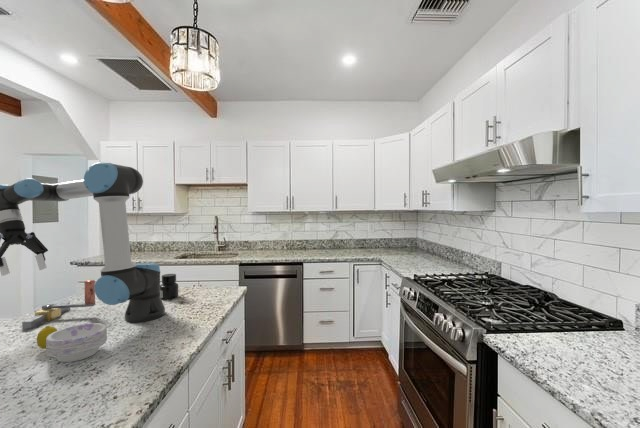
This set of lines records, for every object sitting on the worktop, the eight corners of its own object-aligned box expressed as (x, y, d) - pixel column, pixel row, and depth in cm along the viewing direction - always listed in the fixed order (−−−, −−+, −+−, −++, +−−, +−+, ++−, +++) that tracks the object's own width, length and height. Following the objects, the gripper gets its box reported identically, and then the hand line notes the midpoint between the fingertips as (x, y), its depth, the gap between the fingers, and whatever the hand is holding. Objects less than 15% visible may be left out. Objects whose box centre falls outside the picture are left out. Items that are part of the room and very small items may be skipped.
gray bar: (73, 308, 142) (73, 299, 142) (35, 328, 118) (35, 318, 118) (58, 309, 141) (58, 300, 141) (17, 329, 117) (17, 319, 117)
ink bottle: (164, 295, 163) (163, 273, 163) (181, 294, 164) (180, 272, 164) (156, 300, 154) (156, 277, 153) (174, 300, 155) (174, 277, 154)
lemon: (33, 351, 99) (32, 327, 99) (53, 344, 105) (52, 321, 104) (42, 355, 97) (42, 330, 97) (62, 347, 102) (62, 324, 102)
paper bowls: (97, 340, 108) (96, 318, 108) (114, 352, 99) (114, 328, 99) (40, 357, 96) (39, 333, 95) (54, 373, 87) (53, 345, 86)
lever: (97, 304, 135) (96, 279, 135) (92, 307, 131) (91, 281, 131) (46, 307, 131) (45, 281, 131) (39, 310, 127) (38, 283, 127)
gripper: (35, 225, 136) (49, 270, 134) (-37, 226, 111) (-21, 280, 109) (49, 219, 135) (63, 264, 133) (-21, 218, 110) (-5, 273, 108)
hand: (25, 271), depth 121 cm, fingers open, 13 cm apart
